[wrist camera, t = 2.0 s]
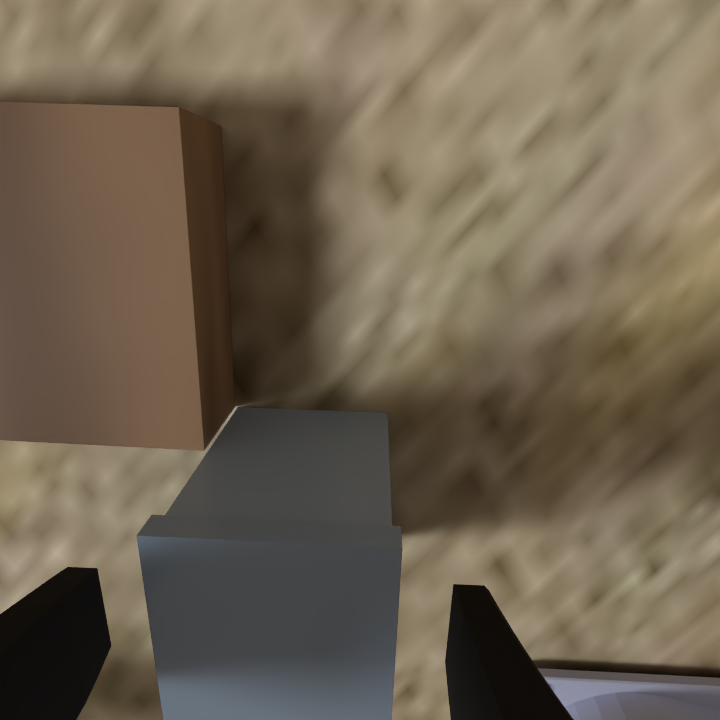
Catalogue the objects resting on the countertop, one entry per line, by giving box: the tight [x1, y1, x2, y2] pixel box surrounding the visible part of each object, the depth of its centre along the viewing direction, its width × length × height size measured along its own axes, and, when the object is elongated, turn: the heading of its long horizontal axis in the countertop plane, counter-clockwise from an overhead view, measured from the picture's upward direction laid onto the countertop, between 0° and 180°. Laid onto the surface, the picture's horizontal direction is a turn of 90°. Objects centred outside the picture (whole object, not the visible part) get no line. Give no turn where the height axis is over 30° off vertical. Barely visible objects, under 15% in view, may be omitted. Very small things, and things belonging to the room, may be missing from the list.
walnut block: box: [0, 102, 235, 451], centre depth 12 cm, size 8×8×3 cm
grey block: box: [137, 407, 402, 720], centre depth 12 cm, size 5×5×6 cm
